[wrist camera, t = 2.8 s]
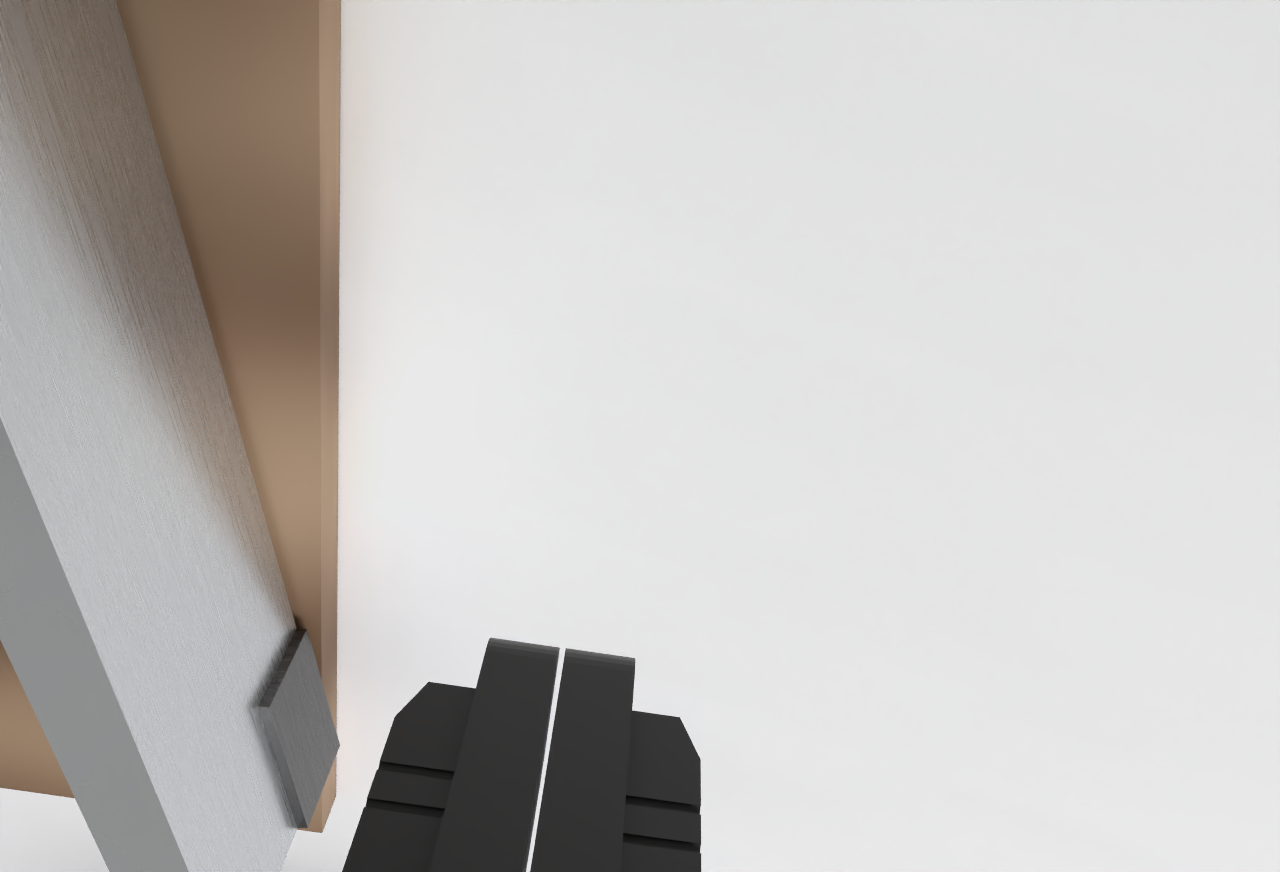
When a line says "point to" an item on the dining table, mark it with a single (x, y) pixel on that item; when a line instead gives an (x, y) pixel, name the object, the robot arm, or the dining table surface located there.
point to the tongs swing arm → (134, 486)
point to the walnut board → (249, 284)
